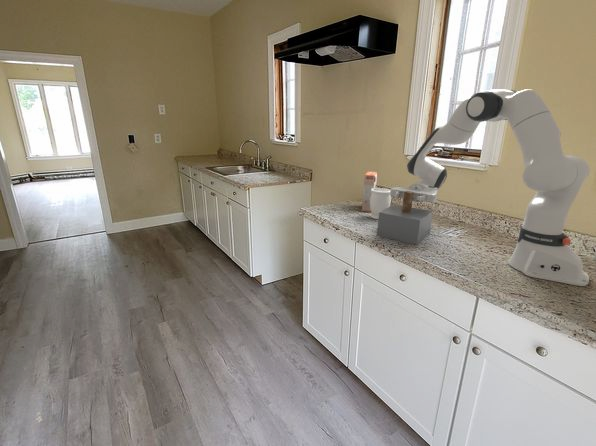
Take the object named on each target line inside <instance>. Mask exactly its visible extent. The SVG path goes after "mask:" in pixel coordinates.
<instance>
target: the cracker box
mask: <svg viewBox="0 0 596 446" xmlns="http://www.w3.org/2000/svg"><path fill="white" fill-rule="evenodd" d="M377 179H378V172H377V171H367V172H366V173H365V174H364V179H363V191H362V192H363V193H362V201H361V202H362V204H361V212H367V213H371V209H370V197H371V194H372V192H371V189H373V188H377Z"/></svg>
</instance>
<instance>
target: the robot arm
mask: <svg viewBox="0 0 596 446" xmlns="http://www.w3.org/2000/svg"><path fill="white" fill-rule="evenodd" d="M500 121H508V123H509V125H510V127H511V130H512V132H513V134H514V136H515V138H516V141H517V143H518V144H519V147H520V150H521V153H522V158H523V164H524V165H523V167H524V168H523V172H522V180H523V183H524V185H525V186H526V187H527V188H529V189H531V190H533V191H536V192H535V194H534V196H533V198H532V199H531V200H530V201H529V203H528V204H527V206H526V210H525V215H524V218H523V222H522V225H521V226H520V228H519V230H518V235H517V241H516V243H517V244H516V245H515V249H514V250H513V253H512V254H511V256H510V258H509V260H508V261H507V263H508V264H509V266H510V267H512V268H513V269H516V270H517V271H519V272H521V273H523V274H524V275H526V276H527V277H530V278H535V279H541V280H547V281H551V282H558V283H562V284H567V285H573V286H580V287H585V286H587V285H588V284H589V282H590V277H589V274H588V273H587V272H586V271H584V270H583V268H584V264H583V260H582V259H581V257H580V256H579V255H578V254H577V253H576V252H575V251H574V250H573V249H571V248H570V247H569V245H570V244H572V243H571V238H570V237H569V235H568V234H567V233H564V232H563V231H564V227H565V225H566V221H567V219H568V218H567V217H568V214H569V211H570V209H571V207H572V205H573V203H574V201H575V200H576V198H577V195H578V194H579V192H580V189H581V187H582V185H583V183H585V181H586V179H588V177H589V175H590V172H591V171H590V169H591V168H590V166H589V164H588V162H587V161H585V159H582V158H581V157H578V156H575V155H565V154H564V152H563V149H562V148H563V147H562V144H561V137H562V133H561V131H560V128H559V126H558V125H557V123H556V120H555V118H554V116H553V115H552V113H551V112H550V109H549V107H548V106H547V104H546V102H545V101H544V100H543V98H541V96H540V95H539V93H537V92H536V91H535V90H533V89H523V90H520V91H516V90H515V89H514V90H513V89H498V88H497V89H490V90H486V89H485V90H481V91H477V92H475V93H474V94H472V95H471V96H468V97H465V98H464V99H462V101H461V102H460V103H459V104H458V106H456V108H455V110H454V111H453V113H452V114H451V116H450V118H449V120H448V121H447V122H446V123H445V124H444V125H442V126H438V127H437V128H436V129H434V130H433V131H432V132H431V133H430V134H429V136H428V137H427V138H426V140H425V141H424V142H423V143H422V145H421V146H420V147H419V148H418V150H417V151H416V152H415V154H414V155H413V156H412V157H411V158H410V159H409V160H408V161H407V164H406V165H407V166H406V169H407V172H408V173H409V174H411V175H413V176H415V177H416V178H418V179H420V181H419V180H418V181H416V182H414V183H411V185H409V186H408V187H402V186H396V187H391V188H390V196H391V197H394V198H397V199H399V198H401V199H403V198H404V192H405V191H412V192H413V200H412V202H414V203H420V202H424V203H425V202H426V203H437V198H438V193H439V191H438V190H439V189H440V188H441V187H442V186H443V184H444V183H445V181H446V180H447V177H448V171H447V168H446V167H444V166H442V165H440V164H439V163H437V162H435V161H434V160H432V159H429V157H427V155H428V153H430V151H431V149H432V148H434V146H435V144H444V145H451V146H452V145H454V146H455V145H462V144H464V143H466V142H467V141H469V140H470V139H471V138H472V136H473V135H474V133H475V132H476V130H477V128H478V126H479V125H480V123H483V122H500Z"/></svg>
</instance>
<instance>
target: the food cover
mask: <svg viewBox="0 0 596 446" xmlns="http://www.w3.org/2000/svg"><path fill="white" fill-rule="evenodd" d="M402 199H403V200H402V205H399V204H393V205H390V207H389V208H387V209H385V210H383V211H381V212H379V219H377V220H378V221H377V231H376V236H377V237H382V238H386V239H390V240H395V241H398V242H402V243H407V244H409V245H410V244H411V245H415V246H418V245H419V244H420V243H421V242H422V241H423V240H424V239H426V238H427V237H428V236H429V235H430V234H431V228H432V227H431V226H432V222H433V214H434V211H433V210H428V209H423V208H418V207H413V206H412V205H413V201H412V200H413V192H412V191H405V192H404V198H402Z"/></svg>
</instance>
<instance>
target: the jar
mask: <svg viewBox="0 0 596 446" xmlns="http://www.w3.org/2000/svg"><path fill="white" fill-rule="evenodd" d="M390 190H391V188H390V189H389V188H384V187H376V188H373V189H371V192H372V194H371V197H370V209H371V212H370V213H371V215H370V218H371V219H375V220H378V219H379V212H381V211H383V210H385V209H387V208H389V207H391V204H392V203H391V201H392V196H390Z"/></svg>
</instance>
